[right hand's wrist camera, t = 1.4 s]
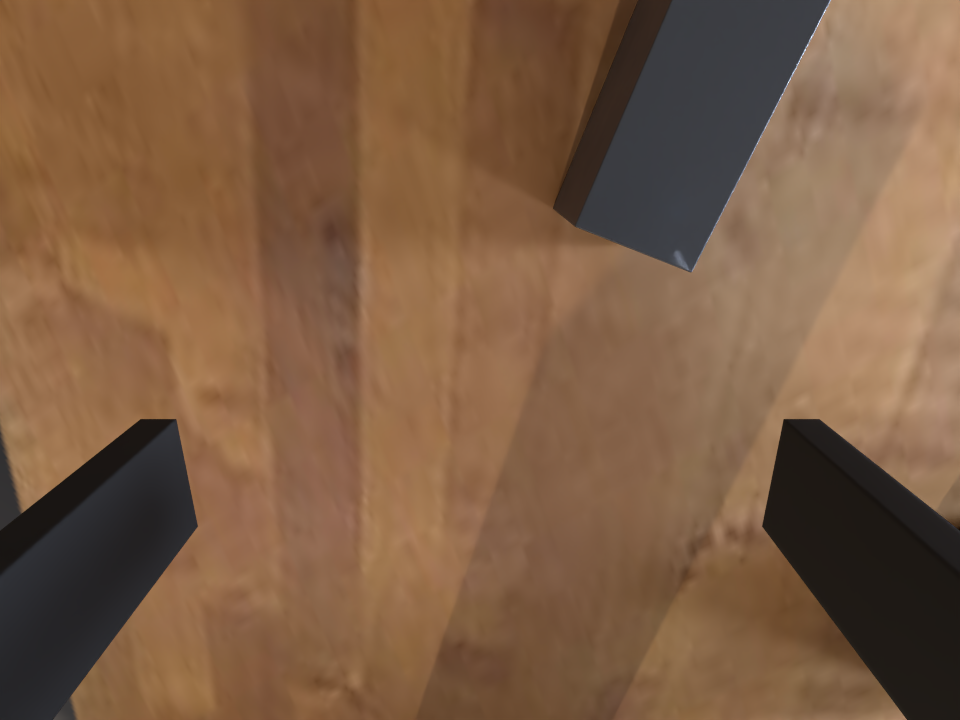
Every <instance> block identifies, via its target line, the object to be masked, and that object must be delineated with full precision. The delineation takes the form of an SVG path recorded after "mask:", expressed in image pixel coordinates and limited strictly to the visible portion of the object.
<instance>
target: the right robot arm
mask: <svg viewBox="0 0 960 720" xmlns="http://www.w3.org/2000/svg"><path fill="white" fill-rule="evenodd" d="M197 527H198V525H197V520H196V515H195V510H194V505H193V500H192V495H191V490H190V485H189V480H188V475H187V470H186V465H185V461H184V456H183V451H182V446H181V441H180V436H179V431H178V426H177V421H176V419H140V420H139V421H138V422H137V423H135V424H134V425H133V426H132V427H130V428H129V429H128V430H127V431H125V432H124V433H123V434H122V435H120V436H119V437H118V438H116V439H115V440H114V441H113V442H111V443H110V444H109V445H108V446H106V447H105V448H104V449H103V450H101V451H100V452H99V453H98V454H96V455H95V456H94V457H93V458H91V459H90V460H89V461H88V462H86V463H85V464H84V465H82V466H81V467H80V468H79V469H77V470H76V471H75V472H74V473H72V474H71V475H70V476H69V477H67V478H66V479H65V480H64V481H62V482H61V483H60V484H59V485H57V486H56V487H55V488H54V489H52V490H51V491H50V492H48V493H47V494H46V495H45V496H43V497H42V498H41V499H40V500H38V501H37V502H36V503H35V504H33V505H32V506H31V507H30V508H28V509H27V510H26V511H25V512H23V513H22V514H21V515H20V516H18V517H17V518H16V519H14V520H13V521H12V522H11V523H9V524H8V525H7V526H6V527H4V528H3V529H2V530H1V531H0V720H53V719H54V717H55V716H56V715H57V714H58V712H59V711H60V710H61V708H62V707H63V705H64V704H65V703H66V701H67V700H68V699H69V697H70V696H71V695H72V693H73V692H74V691H75V689H76V688H77V687H78V685H79V684H80V683H81V681H82V680H83V679H84V677H85V676H86V675H87V673H88V672H89V671H90V669H91V668H92V667H93V665H94V664H95V663H96V661H97V660H98V659H99V657H100V656H101V655H102V653H103V652H104V651H105V649H106V648H107V647H108V645H109V644H110V643H111V641H112V640H113V639H114V637H115V636H116V635H117V633H118V632H119V631H120V629H121V628H122V627H123V625H124V624H125V623H126V621H127V620H128V619H129V617H130V616H131V615H132V613H133V612H134V611H135V609H136V608H137V607H138V605H139V604H140V603H141V601H142V600H143V599H144V597H145V596H146V595H147V593H148V592H149V591H150V589H151V588H152V587H153V585H154V584H155V583H156V581H157V580H158V579H159V577H160V576H161V575H162V573H163V572H164V571H165V569H166V568H167V567H168V565H169V564H170V563H171V561H172V560H173V559H174V557H175V556H176V555H177V553H178V552H179V551H180V549H181V548H182V547H183V545H184V544H185V543H186V541H187V540H188V539H189V537H190V536H191V535H192V533H193V532H194V531H195V529H196V528H197ZM762 527H763V528H764V529H765V531H766V532H767V533H768V535H769V536H770V537H771V539H772V540H773V541H774V543H775V544H776V545H777V547H778V548H779V549H780V551H781V552H782V553H783V555H784V556H785V557H786V559H787V560H788V561H789V563H790V564H791V565H792V567H793V568H794V569H795V571H796V572H797V573H798V575H799V576H800V577H801V579H802V580H803V581H804V583H805V584H806V585H807V587H808V588H809V589H810V591H811V592H812V593H813V595H814V596H815V597H816V599H817V600H818V601H819V603H820V604H821V605H822V607H823V608H824V609H825V611H826V612H827V613H828V615H829V616H830V617H831V619H832V620H833V621H834V623H835V624H836V625H837V627H838V628H839V629H840V631H841V632H842V633H843V635H844V636H845V637H846V639H847V640H848V641H849V643H850V644H851V645H852V647H853V648H854V649H855V651H856V652H857V653H858V655H859V656H860V657H861V659H862V660H863V661H864V663H865V664H866V665H867V667H868V668H869V669H870V671H871V672H872V673H873V675H874V676H875V677H876V679H877V680H878V681H879V683H880V684H881V685H882V687H883V688H884V689H885V691H886V692H887V693H888V695H889V696H890V697H891V699H892V700H893V701H894V703H895V704H896V705H897V707H898V708H899V710H900V711H901V712H902V714H903V715H904V716H905V718H906V719H907V720H960V530H958V529H957V528H956V527H954V526H953V525H952V524H951V523H949V522H948V521H947V520H946V519H944V518H943V517H942V516H940V515H939V514H938V513H937V512H935V511H934V510H933V509H932V508H930V507H929V506H928V505H927V504H925V503H924V502H923V501H922V500H920V499H919V498H918V497H917V496H915V495H914V494H913V493H912V492H910V491H909V490H908V489H906V488H905V487H904V486H903V485H901V484H900V483H899V482H898V481H896V480H895V479H894V478H893V477H891V476H890V475H889V474H888V473H886V472H885V471H884V470H883V469H881V468H880V467H879V466H878V465H876V464H875V463H874V462H872V461H871V460H870V459H869V458H867V457H866V456H865V455H864V454H862V453H861V452H860V451H859V450H857V449H856V448H855V447H854V446H852V445H851V444H850V443H849V442H847V441H846V440H845V439H844V438H842V437H841V436H840V435H838V434H837V433H836V432H835V431H833V430H832V429H831V428H830V427H828V426H827V425H826V424H825V423H823V422H822V421H821V420H820V419H784V421H783V426H782V431H781V436H780V441H779V446H778V451H777V456H776V461H775V465H774V470H773V475H772V480H771V485H770V490H769V495H768V500H767V505H766V510H765V515H764V520H763V525H762Z"/></svg>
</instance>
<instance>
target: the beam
mask: <svg viewBox="0 0 960 720" xmlns="http://www.w3.org/2000/svg"><path fill="white" fill-rule="evenodd" d="M830 1H831V0H638V2H637V5H636V7H635V10H634V12H633V14H632V17H631V19H630V22H629V24H628V27H627V29H626V32H625V34H624V36H623V39H622V41H621V44H620V46H619V49H618V51H617V53H616V56H615V58H614V61H613V63H612V66H611V68H610V70H609V73H608V75H607V78H606V80H605V83H604V85H603V87H602V90H601V92H600V95H599V97H598V100H597V102H596V104H595V107H594V109H593V112H592V114H591V117H590V119H589V122H588V124H587V126H586V129H585V131H584V134H583V136H582V139H581V141H580V143H579V146H578V148H577V151H576V153H575V156H574V158H573V160H572V163H571V165H570V168H569V170H568V173H567V175H566V177H565V180H564V182H563V185H562V187H561V190H560V192H559V194H558V197H557V199H556V202H555V204H554V207H553V209H554V210H555V211H557V212H558V213H559V214H560V215H561V216H563V217H564V218H565V219H566V220H568V221H569V222H570V223H571V224H573V225H574V226H575V227H577V228H580V229H582V230H585V231H587V232H590V233H592V234H595V235H597V236H600V237H602V238H605V239H607V240H610V241H612V242H615V243H618V244H620V245H623V246H625V247H628V248H630V249H633V250H635V251H638V252H640V253H643V254H645V255H648V256H650V257H653V258H655V259H658V260H661V261H663V262H666V263H668V264H671V265H673V266H676V267H678V268H681V269H683V270H686V271H688V272H692V271H693V269H694V267H695V265H696V263H697V261H698V259H699V257H700V255H701V253H702V251H703V249H704V247H705V245H706V243H707V241H708V239H709V237H710V236H711V234H712V232H713V230H714V228H715V226H716V224H717V222H718V220H719V218H720V216H721V214H722V212H723V210H724V208H725V206H726V204H727V202H728V200H729V198H730V196H731V194H732V192H733V191H734V189H735V187H736V185H737V183H738V181H739V179H740V177H741V175H742V173H743V171H744V169H745V167H746V165H747V163H748V161H749V159H750V157H751V155H752V153H753V151H754V149H755V147H756V146H757V144H758V142H759V140H760V138H761V136H762V134H763V132H764V130H765V128H766V126H767V124H768V122H769V120H770V118H771V116H772V114H773V112H774V110H775V108H776V106H777V104H778V102H779V101H780V99H781V97H782V95H783V93H784V91H785V89H786V87H787V85H788V83H789V81H790V79H791V77H792V75H793V73H794V71H795V69H796V67H797V65H798V63H799V61H800V59H801V57H802V56H803V54H804V52H805V50H806V48H807V46H808V44H809V42H810V40H811V38H812V36H813V34H814V32H815V30H816V28H817V26H818V24H819V22H820V20H821V18H822V16H823V14H824V12H825V11H826V9H827V7H828V5H829V3H830Z"/></svg>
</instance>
